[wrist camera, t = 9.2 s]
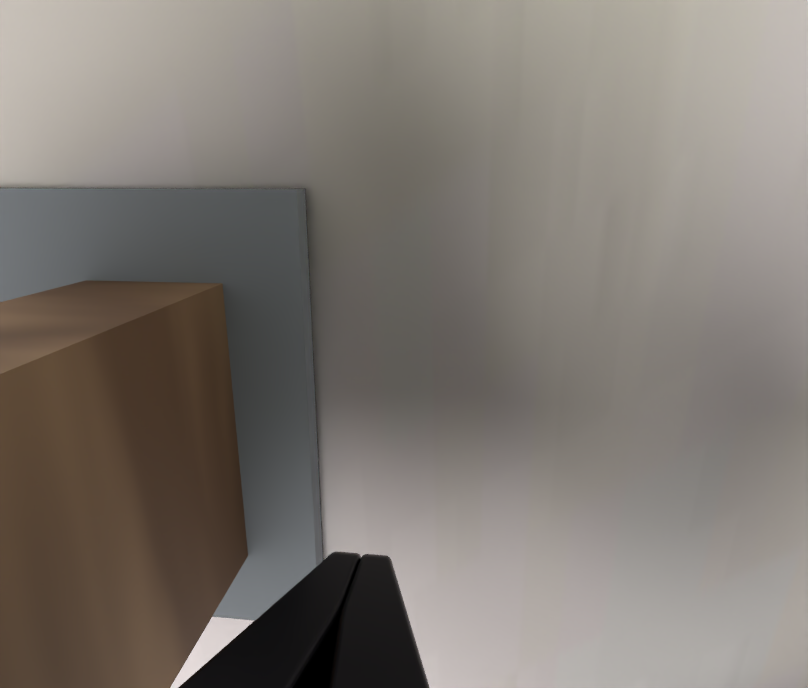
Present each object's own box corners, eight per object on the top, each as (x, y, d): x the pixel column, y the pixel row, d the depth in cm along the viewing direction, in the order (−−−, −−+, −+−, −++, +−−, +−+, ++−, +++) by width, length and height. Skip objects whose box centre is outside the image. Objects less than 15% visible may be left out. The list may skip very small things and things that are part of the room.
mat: (305, 188, 12) (296, 189, 11) (325, 609, 15) (319, 626, 14) (-257, 187, 13) (-290, 187, 13) (-131, 568, 16) (-153, 582, 16)
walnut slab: (222, 283, 12) (-217, 463, 4) (248, 555, 14) (-21, 1010, 6) (86, 280, 12) (-544, 441, 5) (130, 546, 14) (-261, 965, 7)
